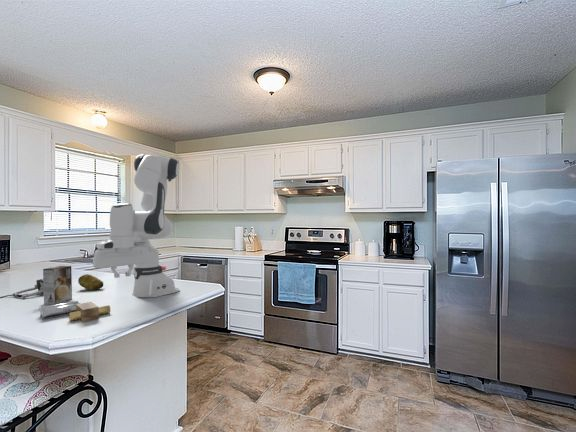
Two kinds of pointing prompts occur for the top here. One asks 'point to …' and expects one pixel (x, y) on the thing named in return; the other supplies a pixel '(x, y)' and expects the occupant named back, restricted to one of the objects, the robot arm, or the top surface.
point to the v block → (58, 310)
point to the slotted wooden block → (88, 311)
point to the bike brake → (38, 286)
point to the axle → (77, 314)
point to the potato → (90, 282)
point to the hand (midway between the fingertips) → (122, 276)
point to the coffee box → (57, 284)
